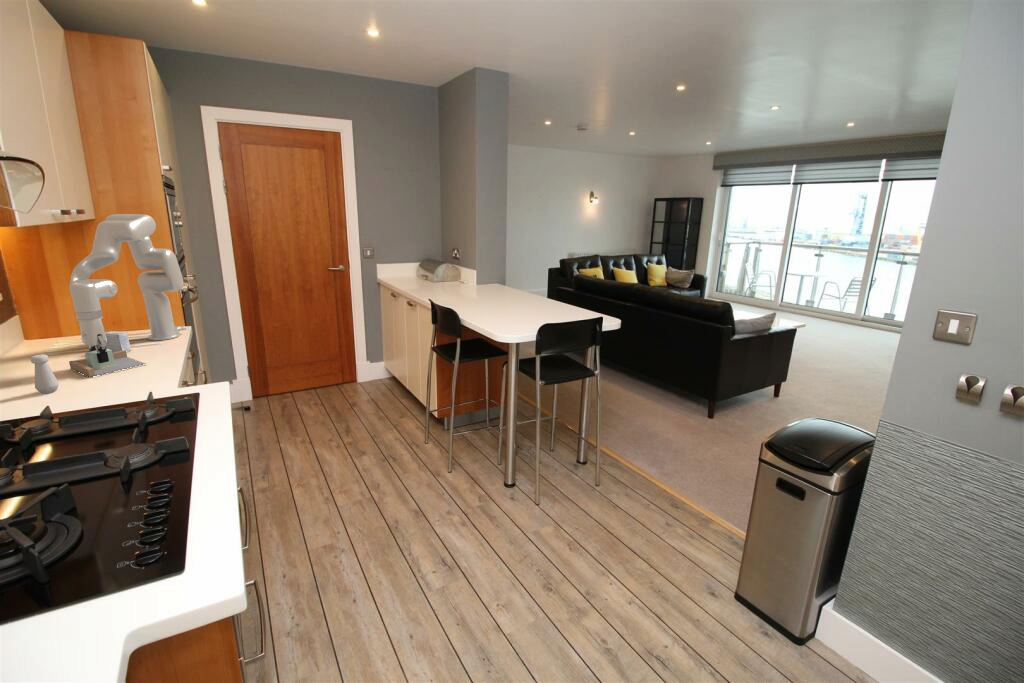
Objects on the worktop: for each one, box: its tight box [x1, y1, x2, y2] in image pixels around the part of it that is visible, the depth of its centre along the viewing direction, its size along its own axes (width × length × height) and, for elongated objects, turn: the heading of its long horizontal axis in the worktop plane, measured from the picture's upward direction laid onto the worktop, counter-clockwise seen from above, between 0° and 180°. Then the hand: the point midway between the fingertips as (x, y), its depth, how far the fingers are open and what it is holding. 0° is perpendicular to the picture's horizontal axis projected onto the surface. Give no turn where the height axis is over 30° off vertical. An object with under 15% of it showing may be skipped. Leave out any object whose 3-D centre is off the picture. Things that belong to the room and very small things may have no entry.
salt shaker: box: [30, 353, 59, 395], centre depth 163 cm, size 6×6×13 cm
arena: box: [68, 350, 147, 378], centre depth 190 cm, size 18×18×3 cm
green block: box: [84, 349, 115, 369], centre depth 188 cm, size 4×7×6 cm, turn 149°
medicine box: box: [105, 330, 132, 353], centre depth 209 cm, size 8×4×9 cm, turn 84°
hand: (100, 360), depth 188 cm, fingers open, 5 cm apart
